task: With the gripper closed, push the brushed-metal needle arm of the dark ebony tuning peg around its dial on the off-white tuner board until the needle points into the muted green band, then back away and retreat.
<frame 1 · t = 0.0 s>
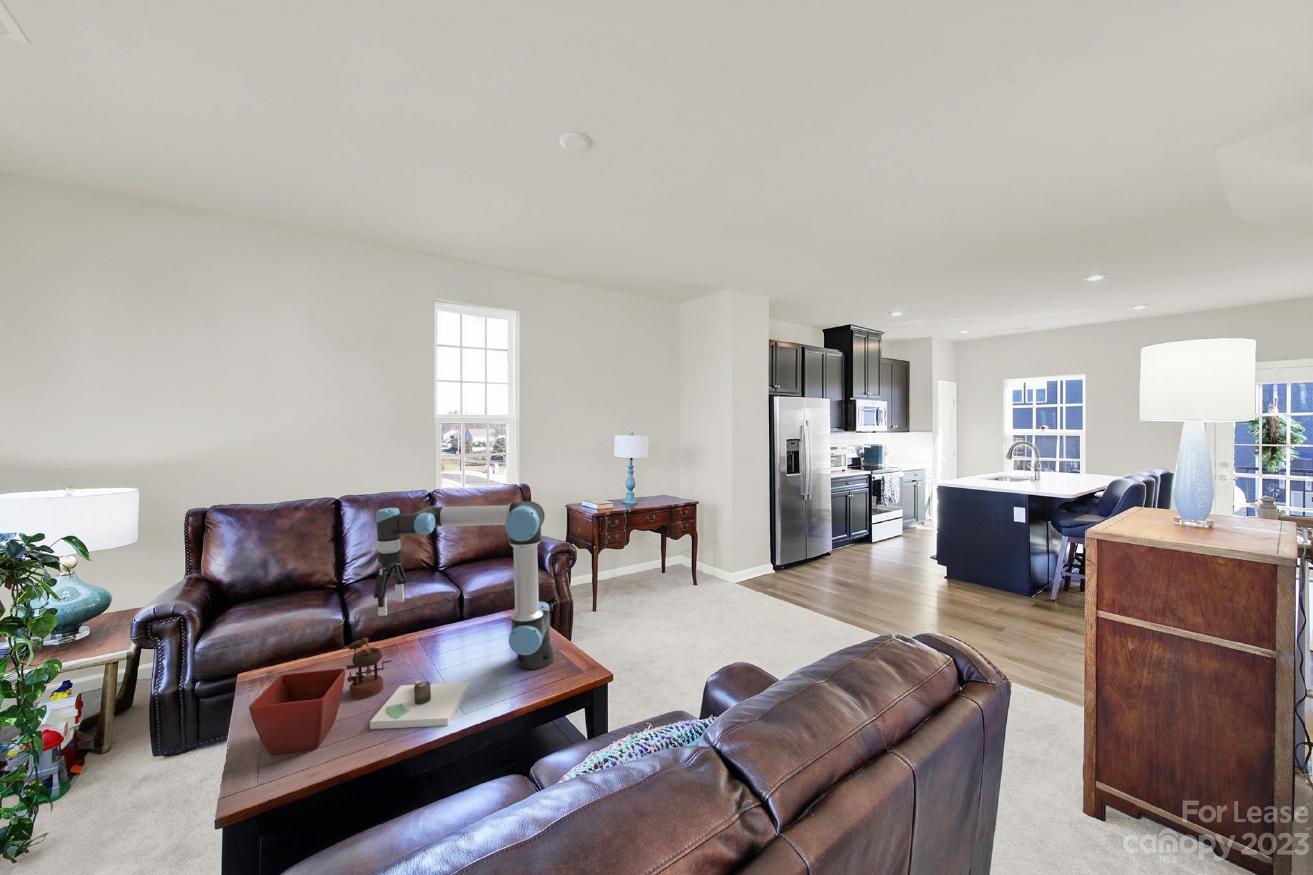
hand: (391, 608, 190), 28 cm above the table, fingers open, 13 cm apart
plant pot: (303, 740, 158), on the table
tuner board: (423, 707, 175), on the table
music box: (369, 691, 186), on the table
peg: (420, 686, 178), point 5 cm above the table, hinge at 0.0°
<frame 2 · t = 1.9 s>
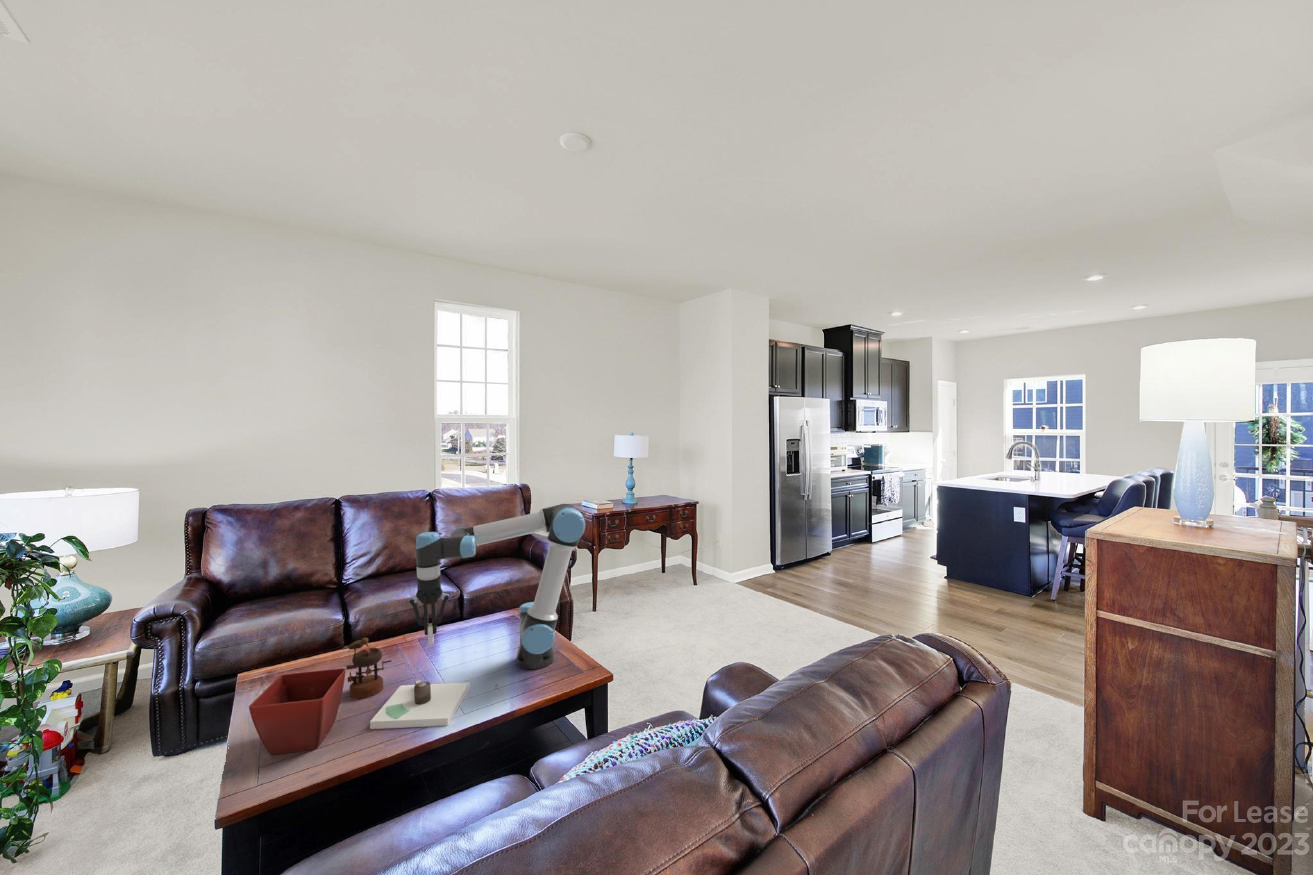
hand: (431, 643, 183), 18 cm above the table, fingers closed
nothing on the table moved.
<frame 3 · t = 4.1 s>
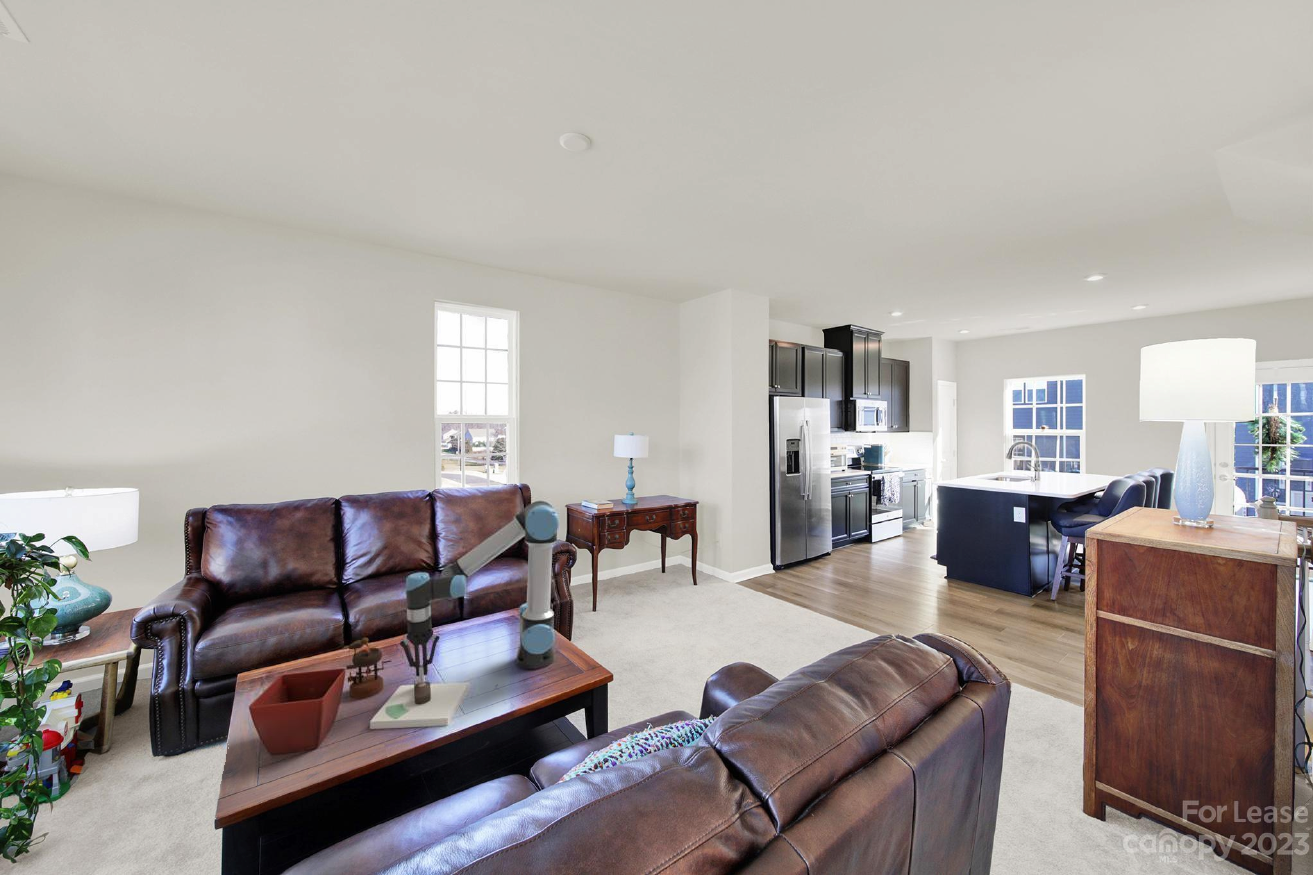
hand: (422, 684, 182), 4 cm above the table, fingers closed
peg: (419, 686, 178), point 5 cm above the table, hinge at 2.3°, touching gripper
everything else where it was.
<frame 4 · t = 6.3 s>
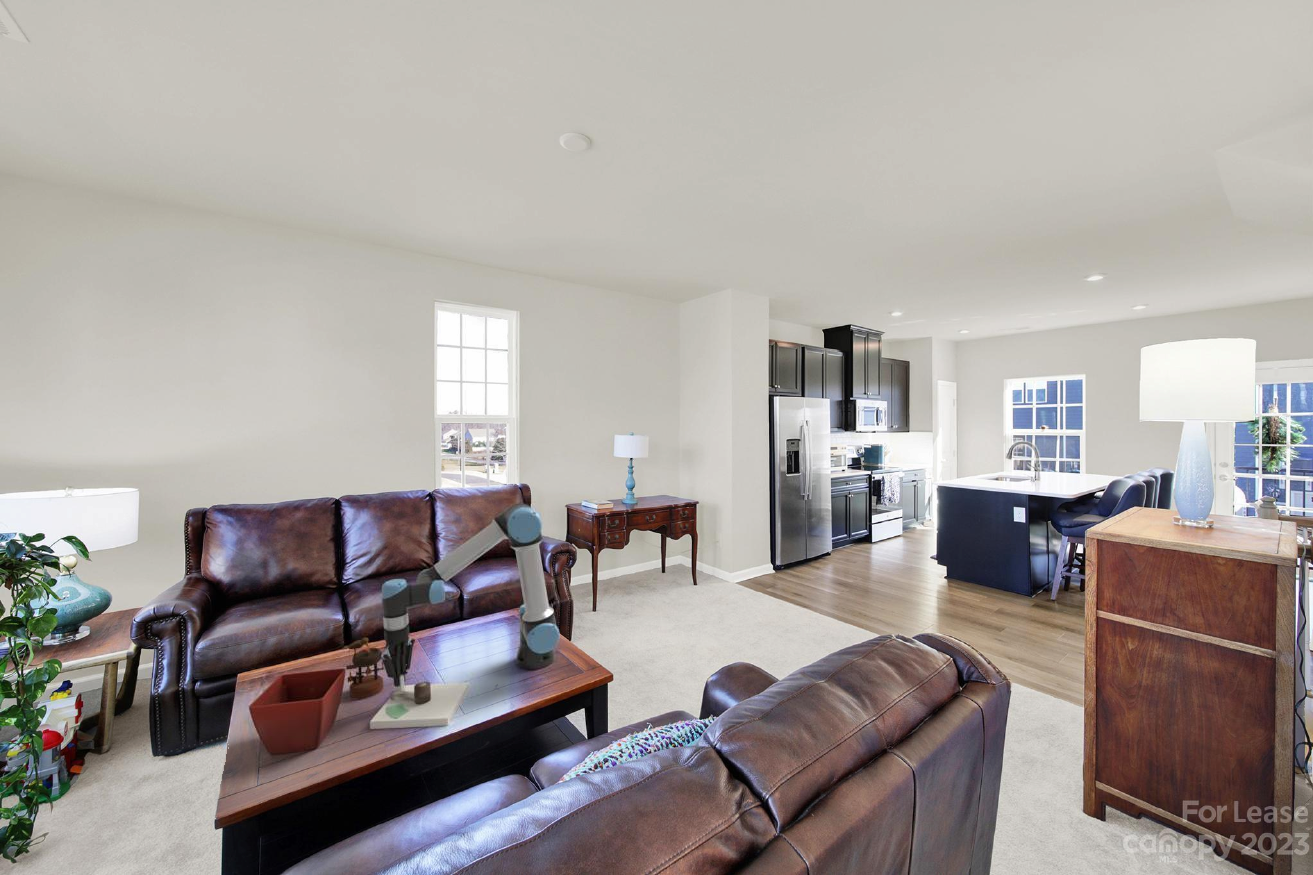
hand: (400, 693, 177), 4 cm above the table, fingers closed
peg: (410, 691, 175), point 5 cm above the table, hinge at 52.8°, touching gripper
everything else where it was.
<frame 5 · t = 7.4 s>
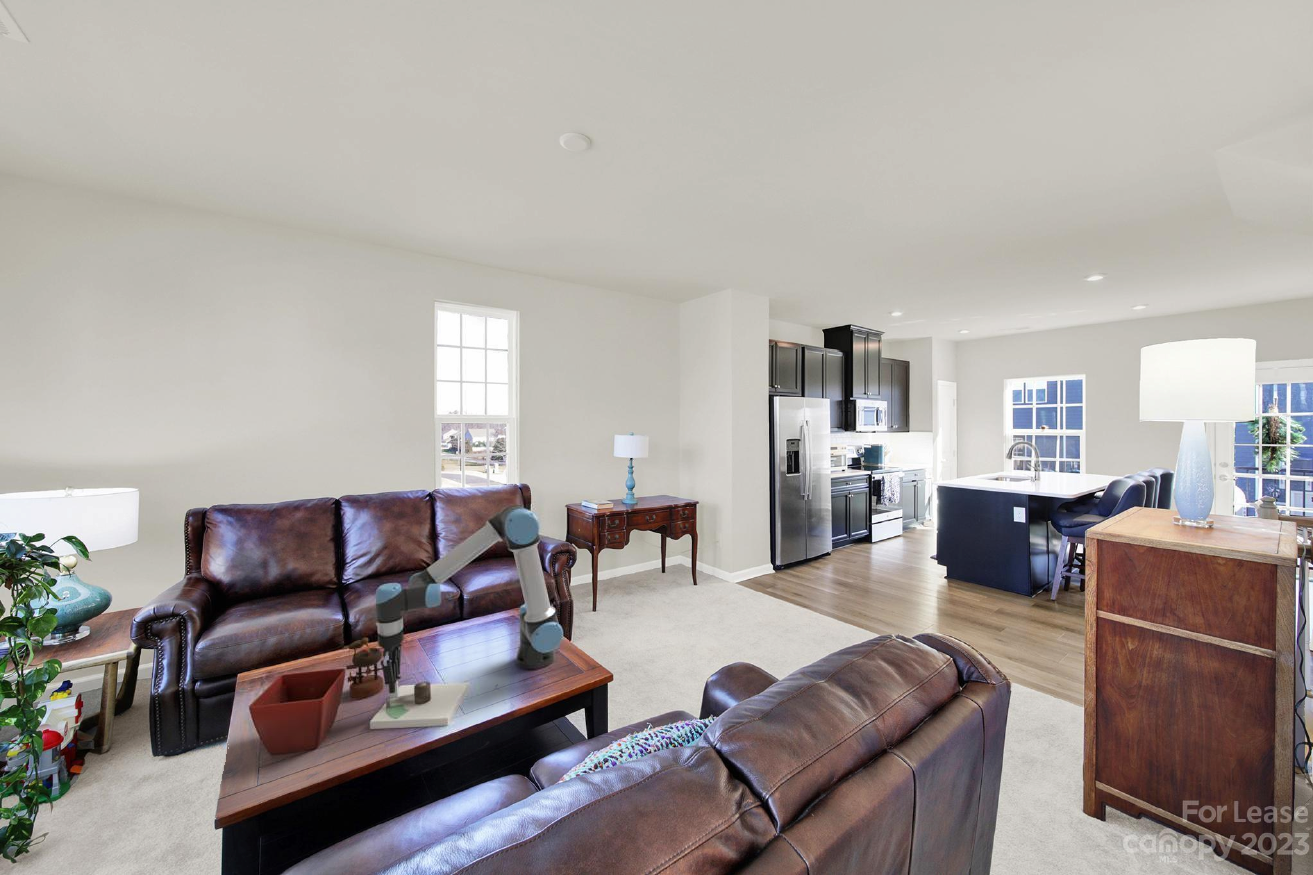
hand: (393, 700, 173), 4 cm above the table, fingers closed
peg: (408, 694, 173), point 5 cm above the table, hinge at 79.5°, touching gripper
everything else where it was.
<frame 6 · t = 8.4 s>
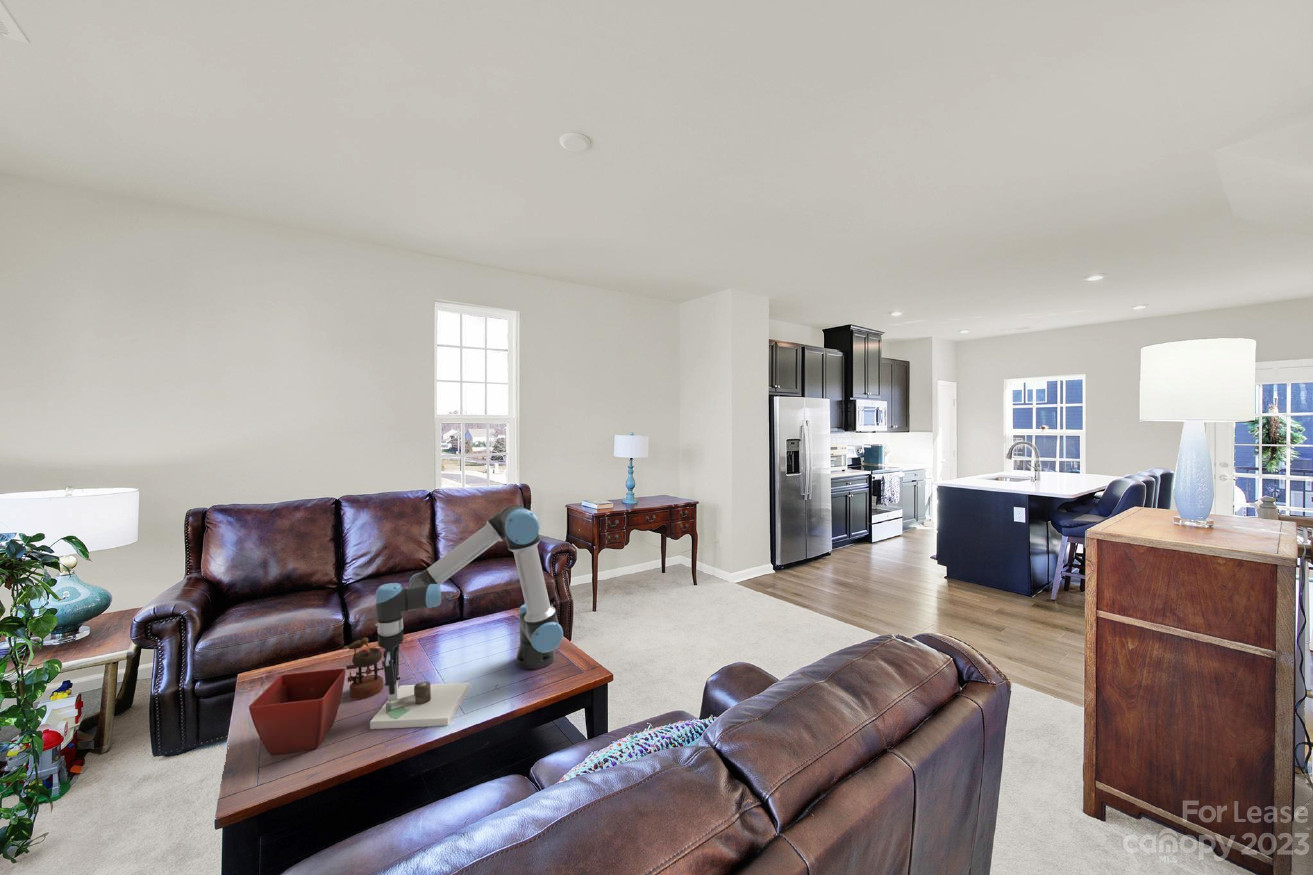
hand: (393, 701, 172), 4 cm above the table, fingers closed
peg: (408, 696, 172), point 5 cm above the table, hinge at 92.0°
everything else where it was.
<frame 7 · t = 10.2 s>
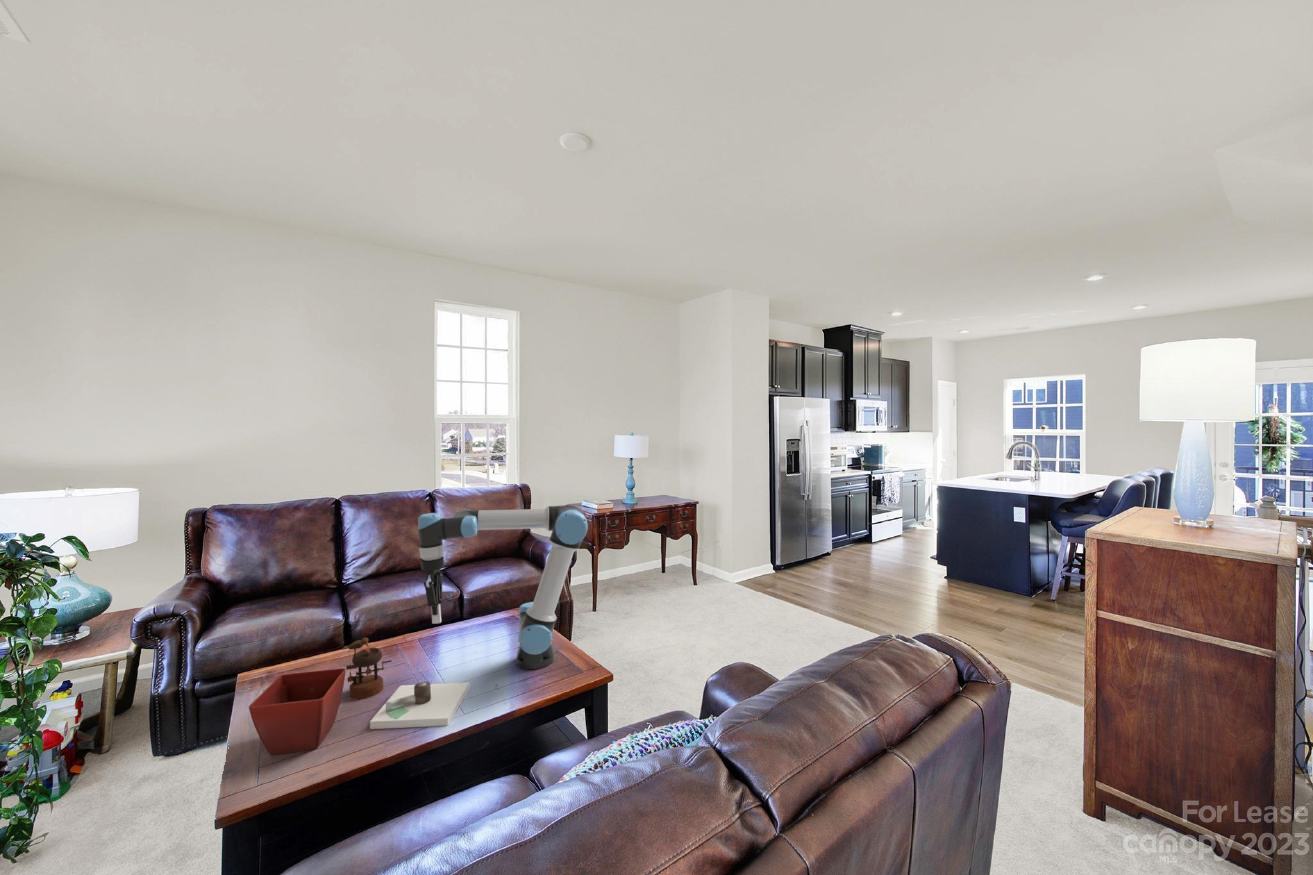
hand: (436, 622, 185), 25 cm above the table, fingers closed
nothing on the table moved.
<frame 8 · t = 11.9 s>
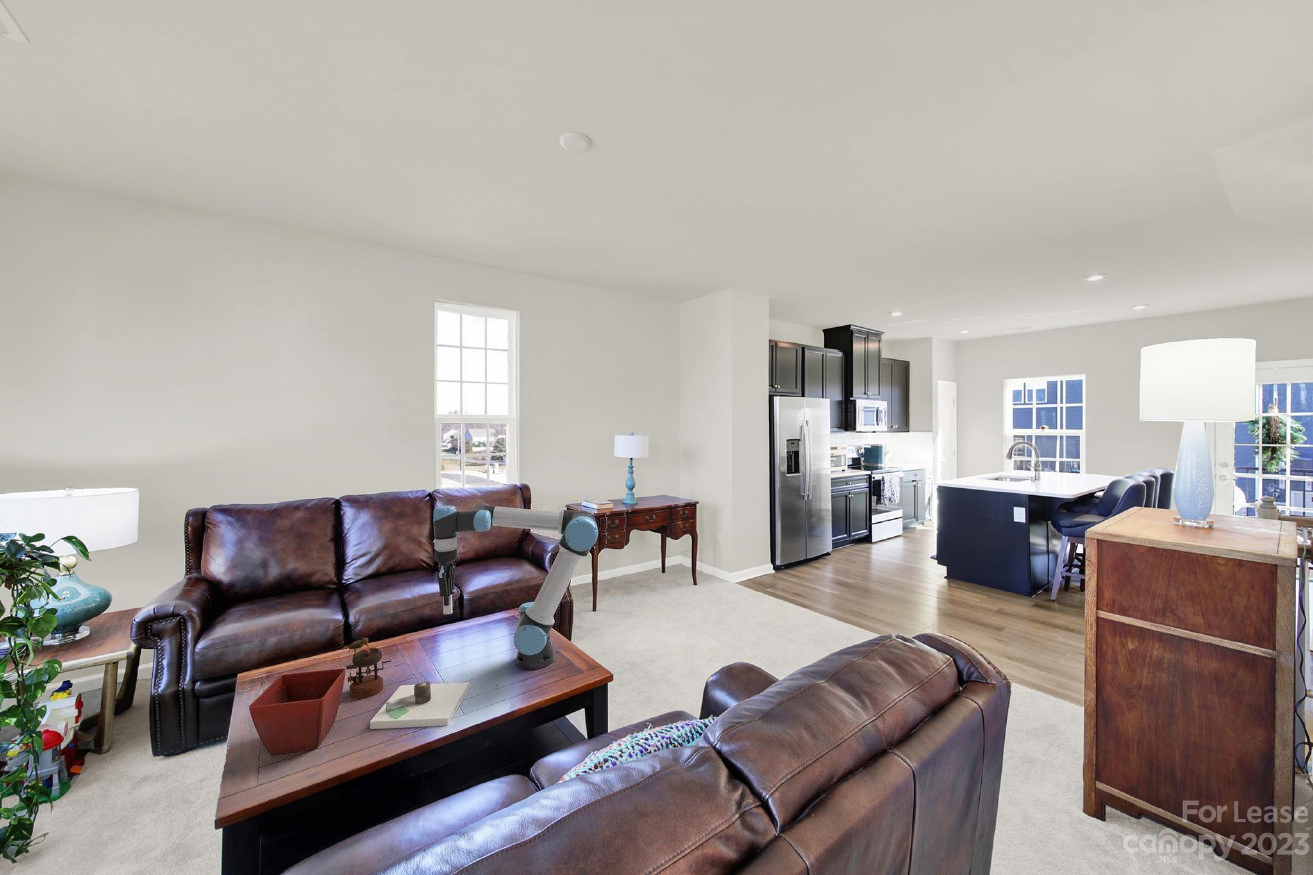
hand: (448, 613, 189), 26 cm above the table, fingers closed
nothing on the table moved.
at the end: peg at +92° (first picture: +0°) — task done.
